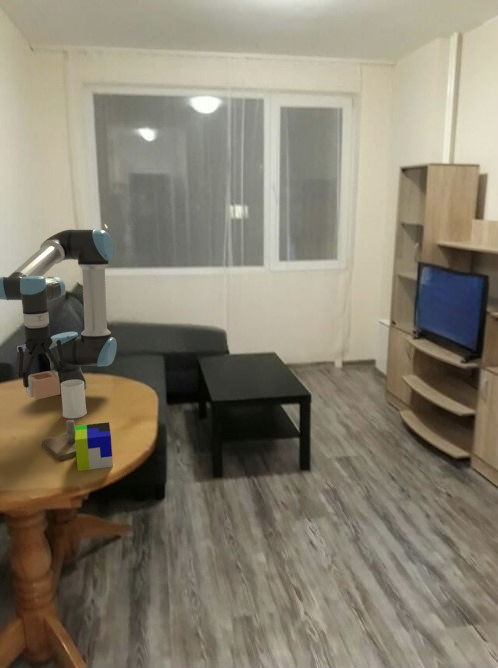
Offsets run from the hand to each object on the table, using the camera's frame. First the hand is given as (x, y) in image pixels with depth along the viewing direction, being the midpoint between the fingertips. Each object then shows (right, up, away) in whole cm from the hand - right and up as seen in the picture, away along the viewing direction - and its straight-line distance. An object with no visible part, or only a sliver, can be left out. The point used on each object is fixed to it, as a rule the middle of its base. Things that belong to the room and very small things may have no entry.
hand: (43, 392), depth 179 cm
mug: (+4, -11, +20) cm, 23 cm away
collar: (0, 0, 0) cm, 0 cm away
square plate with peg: (+10, -17, -3) cm, 20 cm away
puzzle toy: (+20, -20, -13) cm, 31 cm away
